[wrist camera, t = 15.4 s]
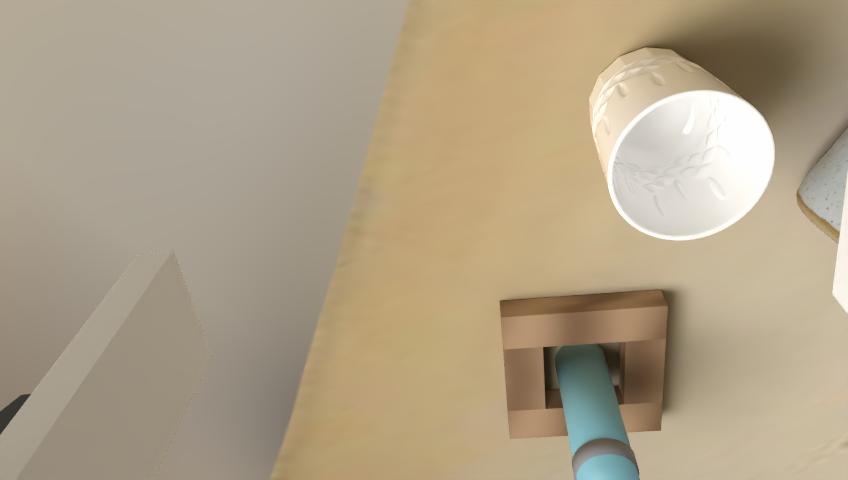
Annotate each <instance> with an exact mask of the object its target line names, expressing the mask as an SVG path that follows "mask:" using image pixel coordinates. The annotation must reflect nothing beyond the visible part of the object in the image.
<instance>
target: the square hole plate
mask: <svg viewBox="0 0 848 480" xmlns="http://www.w3.org/2000/svg"><path fill="white" fill-rule="evenodd" d="M500 311H501V325H502V339H503V352H504V366H505V380H506V394H507V408H508V421H509V432H510V439H516V438H534V437H552V436H568V431H567V426H566V420H565V415H564V409H563V404H562V399H561V393H560V390H547V391H545V385H544V360H543V347H550V346H566V345H581V344H596V343H612V342H620V348H619V386H613V387H614V390H615V394H616V397H617V401H618V405H619V408H620V412H621V415H622V419H623V422H624V426H625V429H626V432H643V431H661V419H662V401H663V384H664V367H665V349H666V332H667V314H668V305H667V303H666V300H665V298H664V296H663V294H662V291H661V290H647V291H633V292H619V293H605V294H591V295H577V296H563V297H549V298H535V299H520V300H506V301H500Z"/></svg>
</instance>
